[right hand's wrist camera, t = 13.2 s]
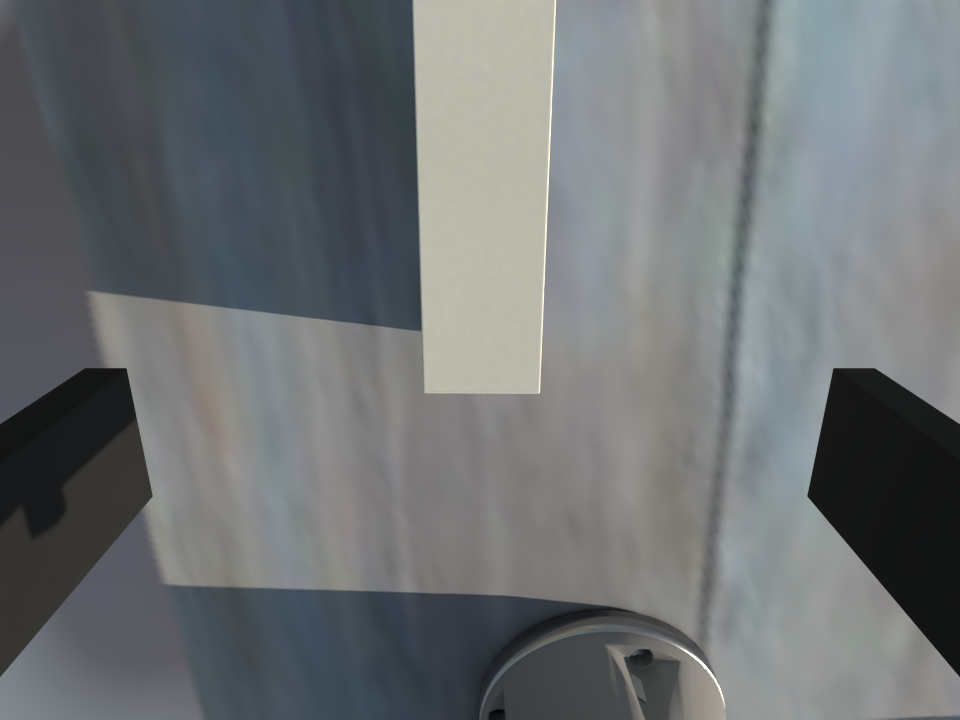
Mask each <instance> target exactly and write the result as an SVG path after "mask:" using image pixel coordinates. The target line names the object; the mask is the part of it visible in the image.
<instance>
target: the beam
mask: <svg viewBox="0 0 960 720" xmlns="http://www.w3.org/2000/svg"><path fill="white" fill-rule="evenodd" d="M555 12H556V0H412V16H413V50H414V85H415V119H416V154H417V188H418V223H419V257H420V292H421V326H422V361H423V392H424V393H477V394H539V393H540V375H541V351H542V327H543V303H544V279H545V254H546V230H547V206H548V182H549V158H550V133H551V109H552V85H553V61H554V36H555Z"/></svg>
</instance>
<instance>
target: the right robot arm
mask: <svg viewBox="0 0 960 720" xmlns="http://www.w3.org/2000/svg"><path fill="white" fill-rule="evenodd" d="M151 498H152V491H151V486H150V481H149V476H148V471H147V467H146V462H145V457H144V452H143V447H142V442H141V437H140V432H139V427H138V423H137V418H136V413H135V408H134V403H133V398H132V393H131V388H130V383H129V378H128V374H127V369H126V368H85V369H83V370H82V371H80V372H79V373H77V374H76V375H74V376H73V377H71V378H70V379H68V380H67V381H65V382H64V383H62V384H61V385H59V386H58V387H56V388H55V389H53V390H52V391H50V392H49V393H47V394H46V395H44V396H42V397H41V398H39V399H38V400H36V401H35V402H33V403H32V404H30V405H29V406H27V407H26V408H24V409H23V410H21V411H20V412H18V413H17V414H15V415H14V416H12V417H11V418H9V419H8V420H6V421H5V422H3V423H2V424H0V677H1V675H2V674H3V673H4V672H5V671H6V669H7V668H8V667H9V666H10V665H11V664H12V662H13V661H14V660H15V659H16V658H17V656H18V655H19V654H20V653H21V652H22V650H23V649H24V648H25V647H26V646H27V645H28V643H29V642H30V641H31V640H32V639H33V637H34V636H35V635H36V634H37V633H38V632H39V630H40V629H41V628H42V627H43V626H44V624H45V623H46V622H47V621H48V620H49V618H50V617H51V616H52V615H53V614H54V613H55V611H56V610H57V609H58V608H59V607H60V605H61V604H62V603H63V602H64V601H65V599H66V598H67V597H68V596H69V595H70V594H71V592H72V591H73V590H74V589H75V588H76V586H77V585H78V584H79V583H80V582H81V581H82V579H83V578H84V577H85V576H86V575H87V573H88V572H89V571H90V570H91V569H92V568H93V566H94V565H95V564H96V563H97V562H98V560H99V559H100V558H101V557H102V556H103V554H104V553H105V552H106V551H107V550H108V548H109V547H110V546H111V545H112V544H113V543H114V541H115V540H116V539H117V538H118V537H119V536H120V534H121V533H122V532H123V531H124V530H125V528H126V527H127V526H128V525H129V523H130V522H131V521H132V520H133V519H134V518H135V517H136V515H137V514H138V513H139V512H140V511H141V509H142V508H143V507H144V506H145V505H146V503H147V502H148V501H149V500H150V499H151ZM808 498H809V499H810V500H811V501H812V502H813V504H814V505H815V506H816V507H817V508H818V509H819V511H820V512H821V513H822V514H823V515H824V517H825V518H826V519H827V520H828V521H829V522H830V524H831V525H832V526H833V527H834V528H835V530H836V531H837V532H838V533H839V534H840V536H841V537H842V538H843V539H844V540H845V541H846V543H847V544H848V545H849V546H850V547H851V549H852V550H853V551H854V552H855V553H856V554H857V556H858V557H859V558H860V559H861V560H862V562H863V563H864V564H865V565H866V566H867V568H868V569H869V570H870V571H871V572H872V573H873V575H874V576H875V577H876V578H877V579H878V581H879V582H880V583H881V584H882V585H883V586H884V588H885V589H886V590H887V591H888V592H889V594H890V595H891V596H892V597H893V598H894V600H895V601H896V602H897V603H898V604H899V605H900V607H901V608H902V609H903V610H904V611H905V613H906V614H907V615H908V616H909V617H910V618H911V620H912V621H913V622H914V623H915V624H916V626H917V627H918V628H919V629H920V630H921V632H922V633H923V634H924V635H925V636H926V637H927V639H928V640H929V641H930V642H931V643H932V645H933V646H934V647H935V648H936V649H937V650H938V652H939V653H940V654H941V655H942V656H943V658H944V659H945V660H946V661H947V662H948V664H949V665H950V666H951V667H952V668H953V669H954V671H955V672H956V673H957V674H958V675H959V677H960V424H959V423H957V422H955V421H954V420H952V419H951V418H949V417H948V416H946V415H945V414H943V413H942V412H940V411H939V410H937V409H936V408H934V407H933V406H931V405H930V404H928V403H927V402H925V401H924V400H922V399H921V398H919V397H918V396H916V395H915V394H913V393H911V392H910V391H908V390H907V389H905V388H904V387H902V386H901V385H899V384H898V383H896V382H895V381H893V380H892V379H890V378H889V377H887V376H886V375H884V374H883V373H881V372H880V371H878V370H877V369H875V368H834V369H833V374H832V378H831V383H830V388H829V393H828V398H827V403H826V408H825V413H824V418H823V422H822V427H821V432H820V437H819V442H818V447H817V452H816V457H815V462H814V467H813V471H812V476H811V481H810V486H809V491H808ZM479 720H726V713H725V703H724V698H723V695H722V692H721V689H720V687H719V684H718V682H717V679H716V677H715V675H714V672H713V670H712V667H711V665H710V663H709V661H708V659H707V658H706V656H705V655H704V653H703V652H702V650H701V649H700V648H699V647H698V646H697V645H696V643H694V642H693V641H692V640H691V639H690V638H689V637H688V636H686V635H685V634H684V633H682V632H681V631H680V630H678V629H676V628H674V627H673V626H671V625H669V624H667V623H665V622H663V621H660V620H658V619H655V618H652V617H649V616H646V615H642V614H638V613H632V612H627V611H616V610H595V611H585V612H577V613H573V614H568V615H564V616H561V617H557V618H554V619H551V620H549V621H546V622H544V623H541V624H539V625H537V626H535V627H533V628H531V629H530V630H528V631H526V632H525V633H523V634H521V635H520V636H519V637H517V638H516V639H515V640H513V641H512V642H511V643H510V644H509V645H507V646H506V647H505V648H504V649H503V650H502V651H501V653H500V654H499V655H498V656H497V657H496V659H495V660H494V661H493V663H492V664H491V666H490V667H489V669H488V671H487V673H486V675H485V678H484V680H483V683H482V687H481V691H480V697H479Z"/></svg>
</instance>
